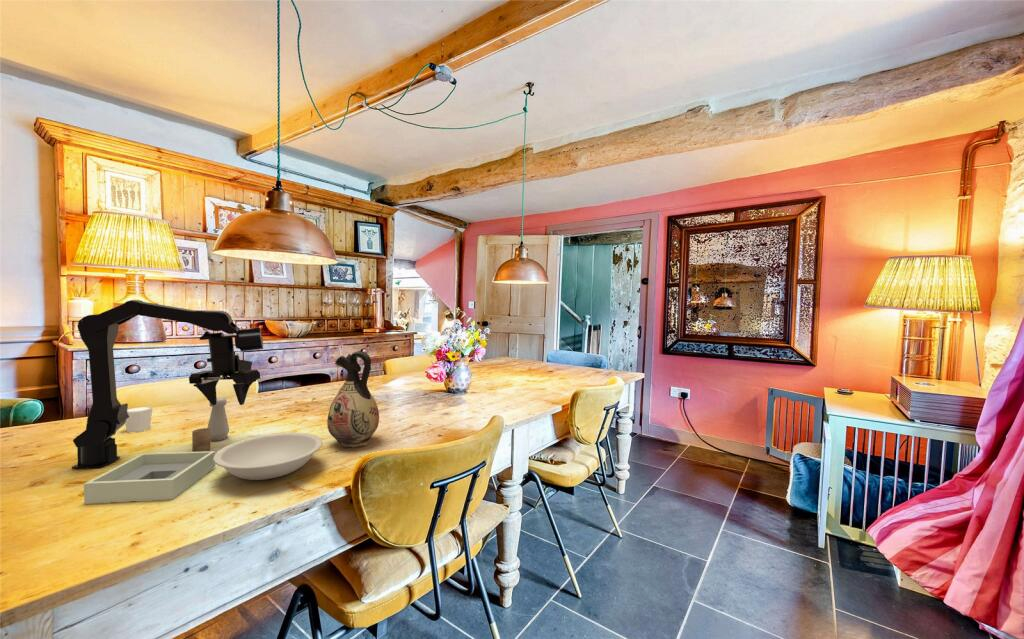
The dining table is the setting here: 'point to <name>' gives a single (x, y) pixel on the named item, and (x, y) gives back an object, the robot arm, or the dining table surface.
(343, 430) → the ceramic jug
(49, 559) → the dining table surface
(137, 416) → the white cube
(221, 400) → the salt shaker
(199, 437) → the peg
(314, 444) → the soup bowl
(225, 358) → the robot arm
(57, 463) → the dining table surface
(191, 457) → the tray
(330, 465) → the dining table surface
